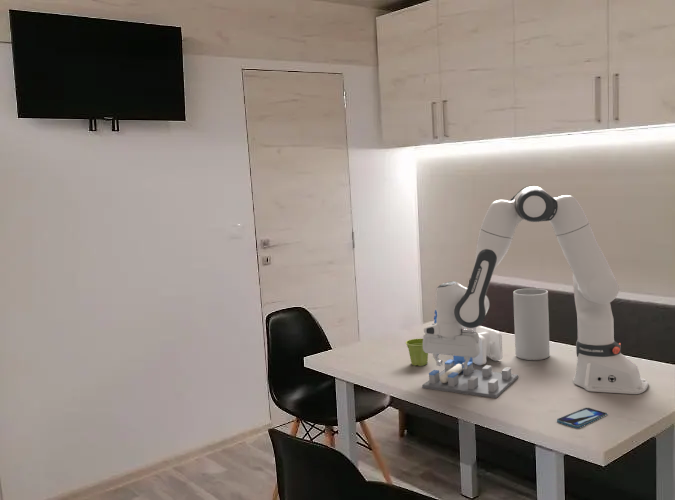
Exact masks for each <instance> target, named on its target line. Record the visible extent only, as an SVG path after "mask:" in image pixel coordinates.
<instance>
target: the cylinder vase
mask: <svg viewBox="0 0 675 500" xmlns="http://www.w3.org/2000/svg"><path fill="white" fill-rule="evenodd" d="M512 294H513V298H512V299H513V317H514V318H513V319H514V323H513V324H514V347H515V349H514V350H515V357H516V358H519V359H521V360H525V361H541V360H544V359H547V358H549V357H550V321H549V319H550V318H549V291H548V290H547V289H543V288H534V287H533V288H521V289H520V288H519V289H516V290H514V291H513V293H512Z"/></svg>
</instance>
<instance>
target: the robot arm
mask: <svg viewBox="0 0 675 500" xmlns="http://www.w3.org/2000/svg"><path fill="white" fill-rule="evenodd" d="M523 221H526V222H530V223H539V222H549V224H550V225H551V227H552V230H553V233H554V234H555V238H556V240H557V243H558V244H559V247H560V249H561V251H562V254H563V256H564V259H565V260H566V262H567V264H568V266H569V269H570V271H571V272H572V283H573V284H572V286H573V296H574V304H575V310H576V317H577V322H576V323H577V340H576V342H575V343H576V344H575V350H576V351H575V352H576V357H577V360H576V361H577V362H576V369H575V374H574V378H573V383H574V384H575V385H576V386H578V387H581V388H583V389H584V390H585V391H587V392H596V393H597V392H598V393H614V394H628V395H639V394H642V393H644V392H645V391H647V389H648V388H649V384H648V380H647V379H645V378H643V377H641V373H640V369H639V367H638V365H637V364H636V363H635V362H633V361H632V360H630V359H629V358H628V357H626V356H625V354H622V353H621V349H622V347H621V342H619V343H618V342H617V341H615V338H614V337H615V336H614V335H615V332H614V331H615V330H614V327H615V326H614V322H615V321H614V316H613V315H614V314H613V312H612V306H611V303H612V302H613V301H614V300H615V299H616V298H617V296H618V294H619V290H620V288H619V283H618V280H617V278H616V277H615V274H614V272H613V270H612V268H611V265H610V264H609V261H608V260H607V258H606V256H605V254H604V253H603V250H602V248H601V247H600V245H599V243H598V241H597V238H596V236H595V233H594V230H593V229H592V225H591V223H590V221H589V219H588V216H587V215H586V212H585V211H584V209H583V207H582V205H581V204H580V202H579V201H578V199H577V198H576V197H574V196H573V195H568V194H565V195H564V194H563V195H559V196H558V197H552V195H550V194H549V193H548V192H547V191H546V190H545V189H544V188H542V187H540V186H537V185H527V186H525V187H523V188H521V189H520V190H519V191H518V192H517V193H516V194H515V195H514V196H513V197H511V198H510V200H507V199H498V200H494V201H493V202H491V204H490V205H489V207H488V209H487V211H486V213H485V215H484V217H483V219H482V222H481V225H480V229H479V232H478V237H477V240H476V241H477V242H476V249H475V256H474V257H475V258H474V265H473V270H472V271H471V275H470V278H469V282H468V284H467V287H466V286H464V285H462V284H461V283H459V282H458V281H446V282H443V283H441V284H440V285H438V286H437V287H436V290H435V294H434V295H435V296H434V297H435V303H434V304H435V310H436V311H437V319H436V321H437V323H434V322H433V323H431V324H429V325H427V326H425V327H424V328H423V332H424V334H423V337H422V339H423V350H424V352H425V353H428V354H432V357H433V358H434V360H435V362H436V367H442V366H443V360H441V359H440V357H439V356H440V355H443V356H462V357H464V360H466V361H465V363H462V369H467V368H468V364H467V363H468V362H469V360H470V357H473V358H475V357H477V356H478V355H479V354H480V347H479V342H478V341H479V335H478V333H477V332H475V331H474V330H465V329H463V326H464V327H467V328H474V327H477V326H479V325H480V326H481V325H482V324H483V322H484V321H485V317H486V315H487V313H488V311H489V309H490V305H491V304H490V303H491V302H490V299H489V297H488V296H487V292H488V291H489V290H488V289H489V287H490V283H491V280H492V277H493V275H494V273H495V271H496V269H497V267H498V266H499V265H500V263H501V262H502V261H503V260H504V258H505V256H506V255H507V253H508V251H509V249H510V247H511V244H512V242H513V240H514V236H515V233H516V229H517V228H518V225H519V224H520V223H521V222H523Z"/></svg>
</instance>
